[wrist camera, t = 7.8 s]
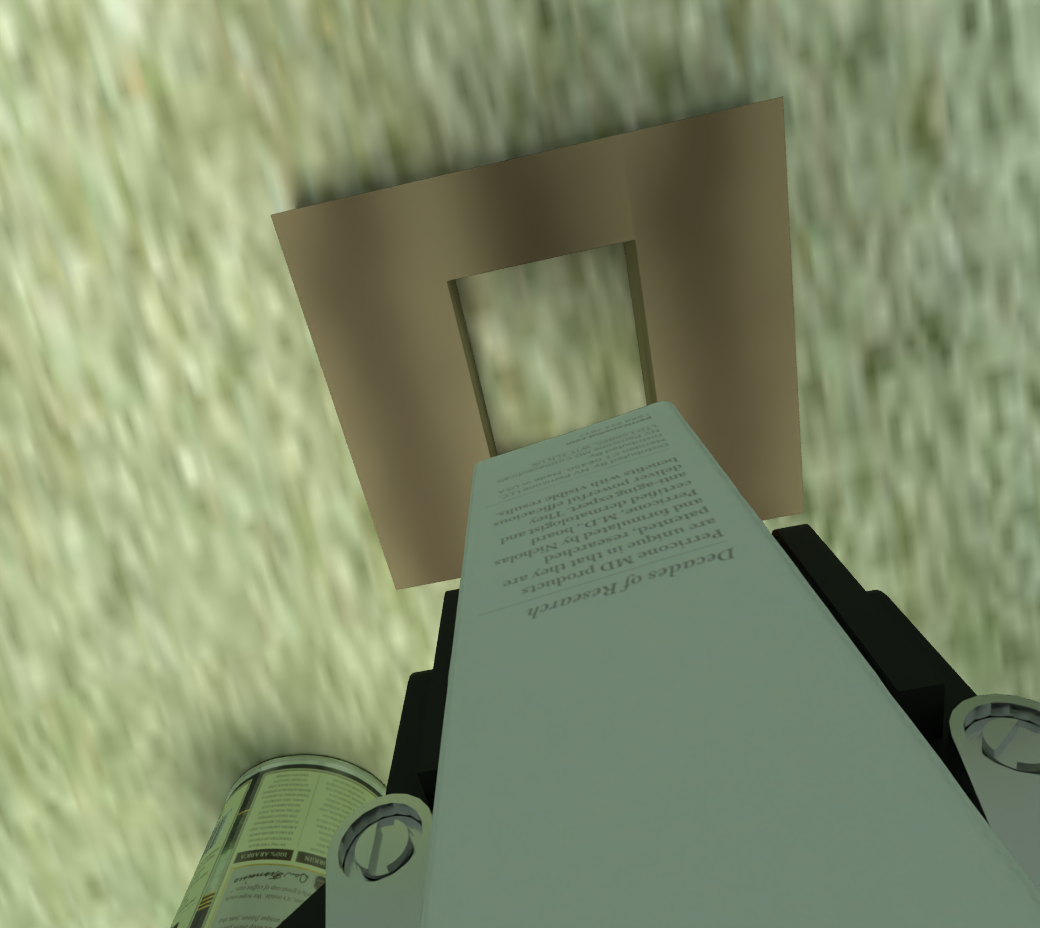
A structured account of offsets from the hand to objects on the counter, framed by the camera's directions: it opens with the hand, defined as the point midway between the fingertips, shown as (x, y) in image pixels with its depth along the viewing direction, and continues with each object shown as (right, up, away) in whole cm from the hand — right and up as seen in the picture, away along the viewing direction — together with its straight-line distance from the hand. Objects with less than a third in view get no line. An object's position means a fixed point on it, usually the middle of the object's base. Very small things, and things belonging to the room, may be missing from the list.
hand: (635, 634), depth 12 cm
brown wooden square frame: (0, +7, +17) cm, 19 cm away
